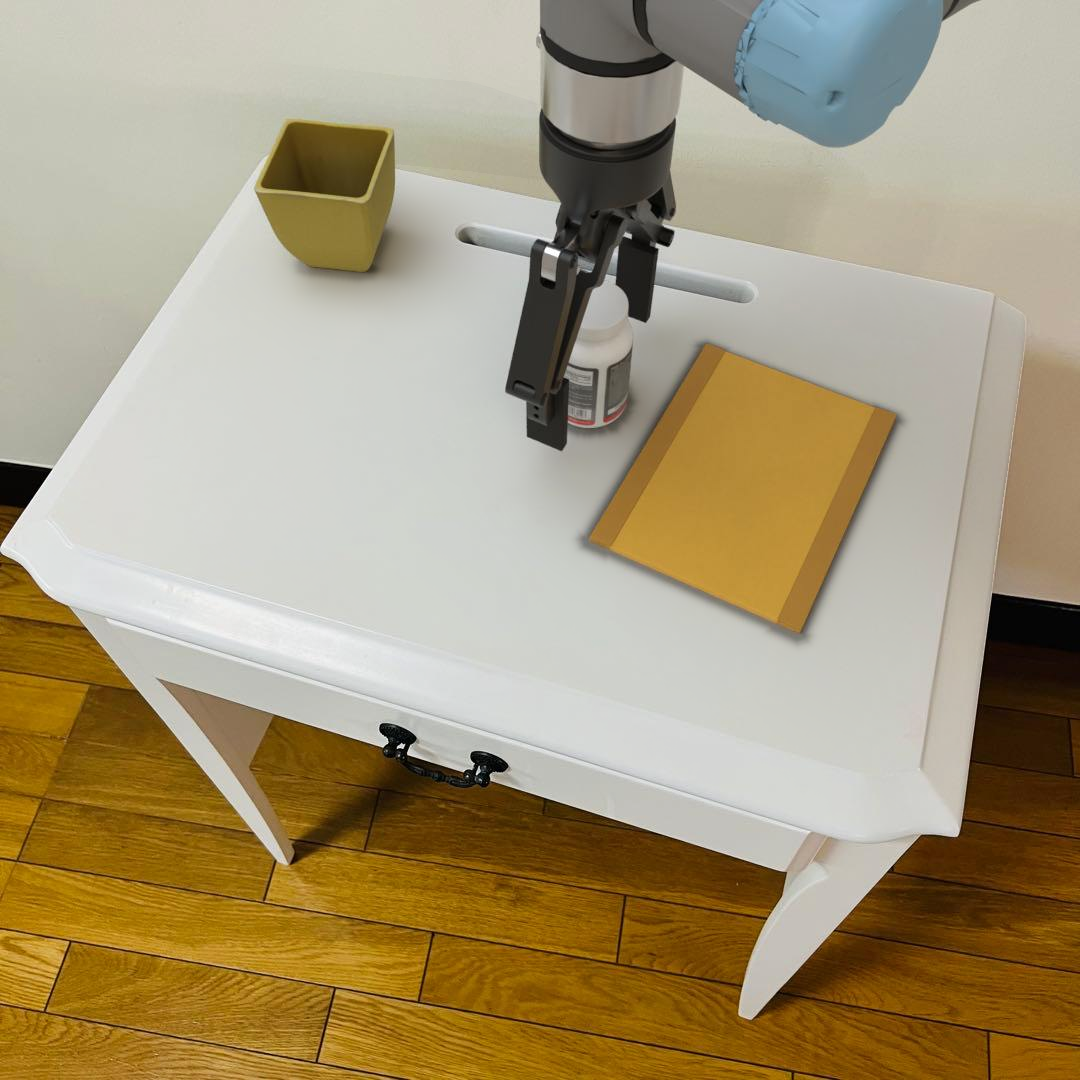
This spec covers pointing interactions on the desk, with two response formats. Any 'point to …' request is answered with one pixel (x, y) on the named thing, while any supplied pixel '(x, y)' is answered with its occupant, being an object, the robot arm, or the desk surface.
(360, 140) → the flower pot
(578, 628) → the desk surface
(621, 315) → the pill bottle
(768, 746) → the desk surface
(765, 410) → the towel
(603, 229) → the robot arm
